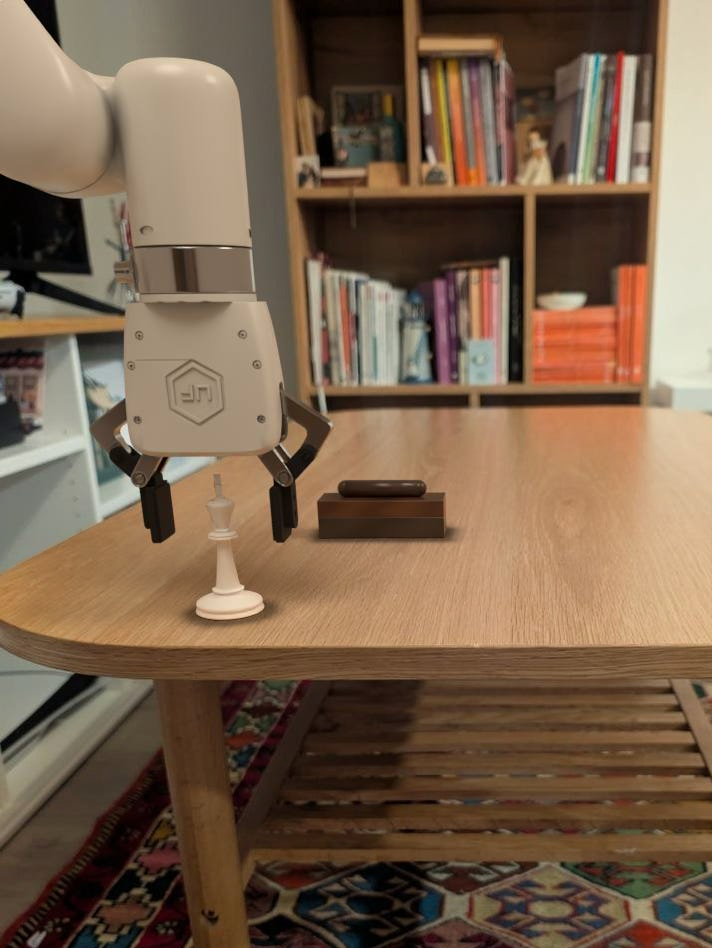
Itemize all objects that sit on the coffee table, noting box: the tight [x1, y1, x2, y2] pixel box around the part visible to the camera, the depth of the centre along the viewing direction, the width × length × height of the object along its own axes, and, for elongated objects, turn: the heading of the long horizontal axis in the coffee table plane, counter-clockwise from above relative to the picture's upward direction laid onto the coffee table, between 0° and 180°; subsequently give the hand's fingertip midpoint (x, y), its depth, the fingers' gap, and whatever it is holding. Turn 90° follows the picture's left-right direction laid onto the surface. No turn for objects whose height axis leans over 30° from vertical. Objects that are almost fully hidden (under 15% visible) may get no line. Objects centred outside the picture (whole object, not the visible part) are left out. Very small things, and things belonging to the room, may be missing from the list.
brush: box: [316, 479, 447, 539], centre depth 91 cm, size 12×4×5 cm, turn 89°
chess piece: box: [195, 473, 265, 621], centre depth 68 cm, size 5×5×10 cm
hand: (223, 537), depth 68 cm, fingers open, 8 cm apart
